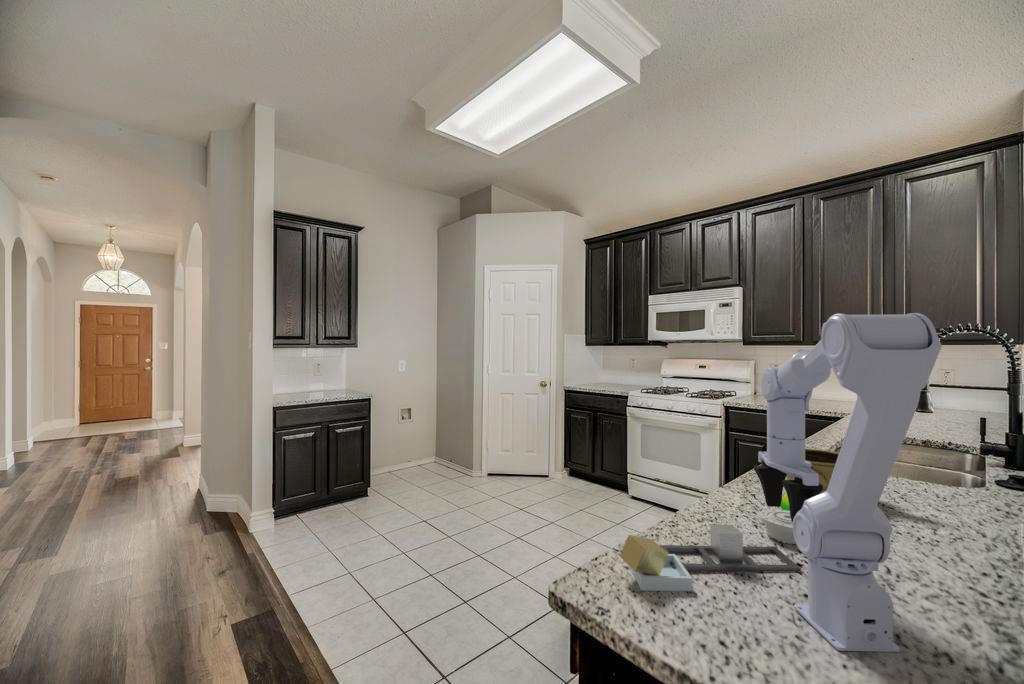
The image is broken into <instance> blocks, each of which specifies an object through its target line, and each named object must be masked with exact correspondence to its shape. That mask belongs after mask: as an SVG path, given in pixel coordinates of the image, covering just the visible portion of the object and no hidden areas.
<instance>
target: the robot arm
mask: <svg viewBox="0 0 1024 684" xmlns="http://www.w3.org/2000/svg"><path fill="white" fill-rule="evenodd" d="M942 347H943V345H942V343H941V341H940V338H939V335H938V333H937V330H936V328H935V325H934V324H933V322H932V320H931V319H930V318H929V317H928V316H926V315H925V314H922V313H919V312H913V313H912V312H911V313H907V314H906V313H905V314H899V313H898V314H846V313H835V314H833V315H831V316H830V317H829V318H828V319H827V321H826V322H823V323H822V327H821V334H820V340H819V341H818V342H817V344H815V345H814V346H813V347H812V348H811V349H797V350H796V351H795V352H794V354H793V355H792V356H791V357H789V359H787V360H786V361H785V362H783V364H781V365H780V366H779V367H778V368H774V367H770V366H768V367H765V369H764V370H763V371H762V373H761V378H760V388H761V393H762V396H763V398H764V399H765V401H766V451H758V454H757V456H758V457H757V458H758V460H757V461H758V462H759V463H761V464H760V465H756V464H755V465H753V470H754V472H755V473H756V476H757V477H758V479H759V482H760V485H761V488H762V491H763V495H764V499H765V504H766V506H768V507H771V508H773V507H774V508H777V507H778V508H779V507H780V505H781V501H782V499H783V491H784V489H785V494H787V496H788V500H789V508H790V517H791V520H792V522H793V535H794V539H795V542H796V544H795V545H796V547H797V548H798V550H799V551H800V552H801V553H802V554H803V556H805V557H806V558H807V604H803V603H801V604H800V603H797V604H796V603H794V605H793V609H794V610H795V611H797V612H798V613H799V615H800V616H802V617H803V618H804V619H805V621H806V622H807V623H809V625H810V626H812V627H813V628H814V629H815V630H816V631H817V632H818V633H819V634H820V635H821V636H822V637H823V638H824V639H825V640H826V641H827V642H828V643H829V644H830V645H831V646H832V647H834V649H836V650H837V651H840V652H846V651H847V652H877V653H879V652H880V653H881V652H883V653H884V652H885V653H888V652H889V653H899V652H900V649H901V648H900V647H899V646H898V645H897V644H896V643H895V642H894V605H893V600H892V598H891V596H890V594H889V593H888V592H887V591H886V590H885V589H884V588H883V587H882V586H881V585H880V583H879V582H878V581H877V579H876V577H875V575H874V572H878V571H879V564H883V563H884V562H886V561H887V559H888V557H889V555H890V552H891V535H892V532H893V530H894V529H893V527H892V525H891V522H890V521H889V519H888V517H887V516H886V514H885V513H884V511H882V509H881V508H880V507H878V504H879V502H880V499H881V498H882V495H883V492H884V489H885V487H886V485H887V482H888V479H889V477H890V474H891V472H892V469H893V468H894V465H895V463H896V460H897V458H898V455H899V453H900V450H901V447H902V445H903V442H904V440H905V437H906V436H907V433H908V430H909V428H910V425H911V424H912V420H913V419H914V415H915V413H916V411H917V408H918V405H919V402H920V398H921V397H920V396H921V392H922V390H923V389H925V388H926V386H927V383H928V381H929V379H930V376H931V374H932V371H933V369H934V366H935V365H936V364H935V363H936V362H937V359H938V356H939V354H940V352H941V349H942ZM832 371H833V372H834V375H835V377H836V379H837V381H838V383H839V384H840V386H841V387H842V388H843V389H847V390H849V392H852V393H854V394H856V396H857V398H856V402H855V404H854V407H853V410H852V414H851V415H850V419H849V421H848V426H847V428H846V431H845V435H844V436H843V437H844V438H843V439H842V444H841V446H840V449H839V452H838V453H839V455H838V458H837V461H836V464H835V467H834V470H833V473H832V476H831V479H830V482H829V485H828V488H827V491H825V492H823V493H821V494H820V492H821V491H822V490H823V485H821V484H819V474H818V473H816V472H814V471H813V470H812V469H811V468H810V467H811V463H810V462H808V461H805V449H806V412H808V411H809V409H810V400H811V398H812V395H813V389H815V388H818V386H819V385H821V384H823V383H825V382H826V381H827V380H828V379H829V377H830V376H831V373H832ZM787 474H788V475H790V476H792V477H794V480H787V477H786V476H787ZM780 508H781V507H780Z"/></svg>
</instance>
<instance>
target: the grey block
mask: <svg viewBox="0 0 1024 684" xmlns="http://www.w3.org/2000/svg"><path fill="white" fill-rule="evenodd" d="M709 529H710V534H709V535H710V539H709V540H710V542H709V543H710V544H709V546H710V553H709V556H710V557H711V558H712V559H713V560H714V561H715V563H716V562H717V563H718V564H743V545H744V544H743V542H744V540H743V537H744V536H743V533H742V531H740V530H739V529H738V528H736V527H735V525H733V524H721V523H720V524H714V523H713V524H710V528H709ZM717 563H716V564H717Z"/></svg>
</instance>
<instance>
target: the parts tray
mask: <svg viewBox="0 0 1024 684" xmlns="http://www.w3.org/2000/svg"><path fill="white" fill-rule="evenodd" d="M670 562H673V563H674V564H675V566H676V568H672V566H671V565H670ZM682 563H683V562H681V560H680V559H679V557H678V556H677V555H676V553H670V554H669V555H668V557H667V559H666V562H665V564H664V566H663V568H662V571H661V573H660V575H654V574H648V573H642V572H636V571H634V570H633V569H632V568H631V567H630V566H629V569H630V570H631V572H632V575H633V577H634V579H635V581H636V583H637V585H638V588H639V589H640V591H641V592H642V591H644V592H645V591H651V592H653V591H654V592H692V591H693V577H692V576H691V575H690V572H687V570H686V569H685V567H684V566H683V565H682Z"/></svg>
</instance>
